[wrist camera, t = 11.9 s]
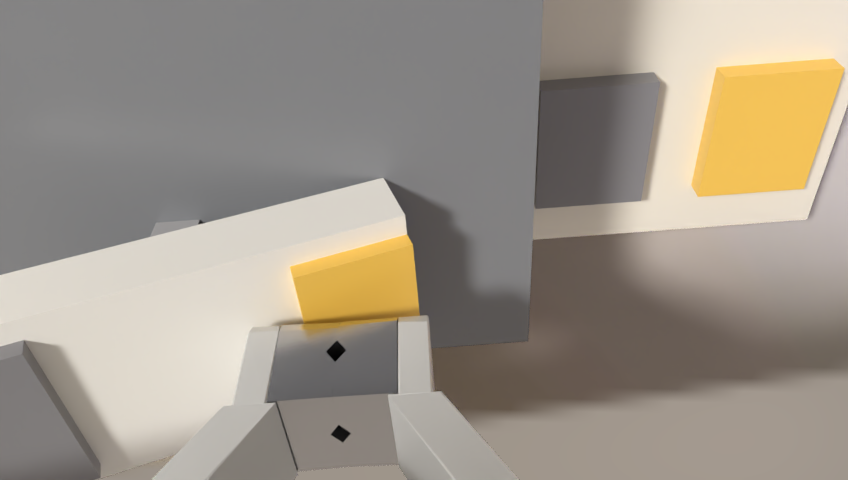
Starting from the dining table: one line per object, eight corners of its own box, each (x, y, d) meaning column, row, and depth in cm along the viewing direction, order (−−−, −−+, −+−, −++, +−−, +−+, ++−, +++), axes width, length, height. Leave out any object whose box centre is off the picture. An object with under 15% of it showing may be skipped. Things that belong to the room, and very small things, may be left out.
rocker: (-4, 459, 13) (-13, 530, 12) (-123, 306, 11) (-151, 378, 9) (402, 333, 15) (426, 385, 14) (383, 177, 12) (410, 225, 11)
